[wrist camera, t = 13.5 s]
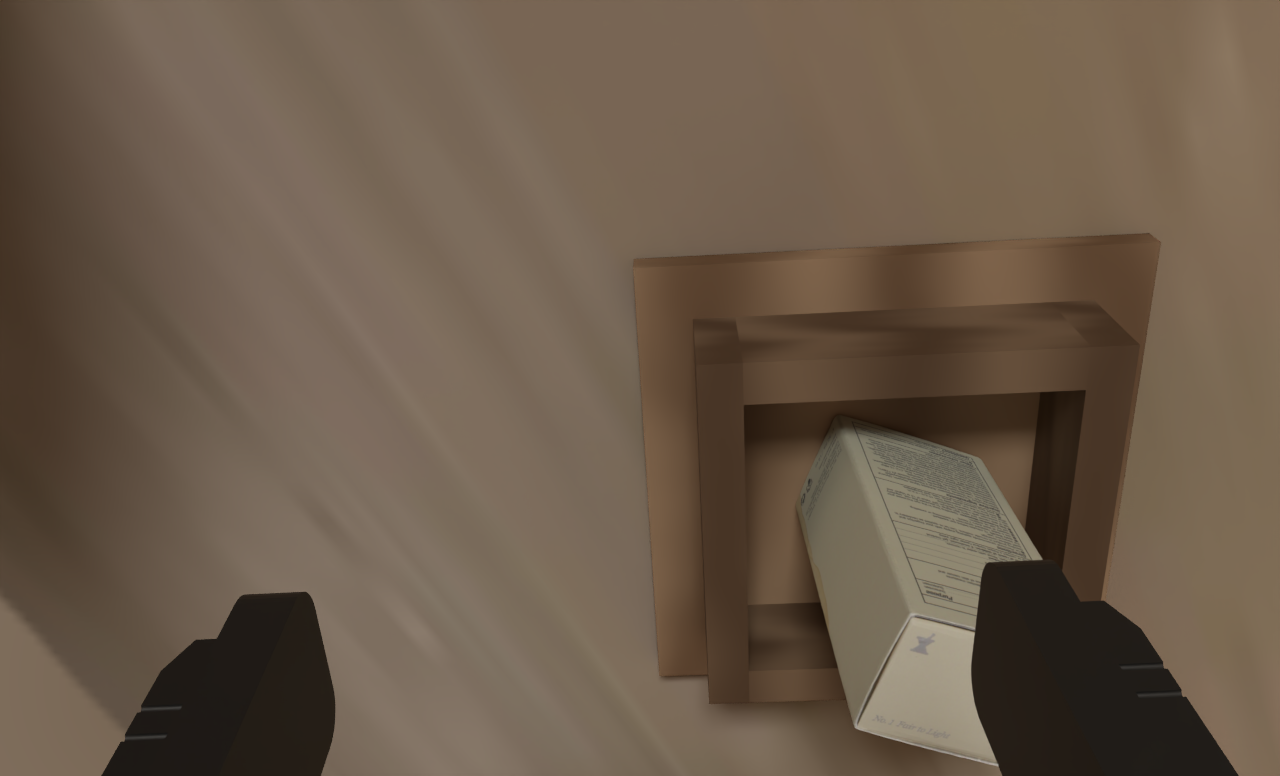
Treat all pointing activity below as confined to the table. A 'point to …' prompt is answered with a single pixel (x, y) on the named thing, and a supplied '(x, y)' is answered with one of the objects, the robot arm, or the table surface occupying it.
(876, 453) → the skincare box
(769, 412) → the brown wooden tray
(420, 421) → the table surface
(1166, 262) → the table surface
